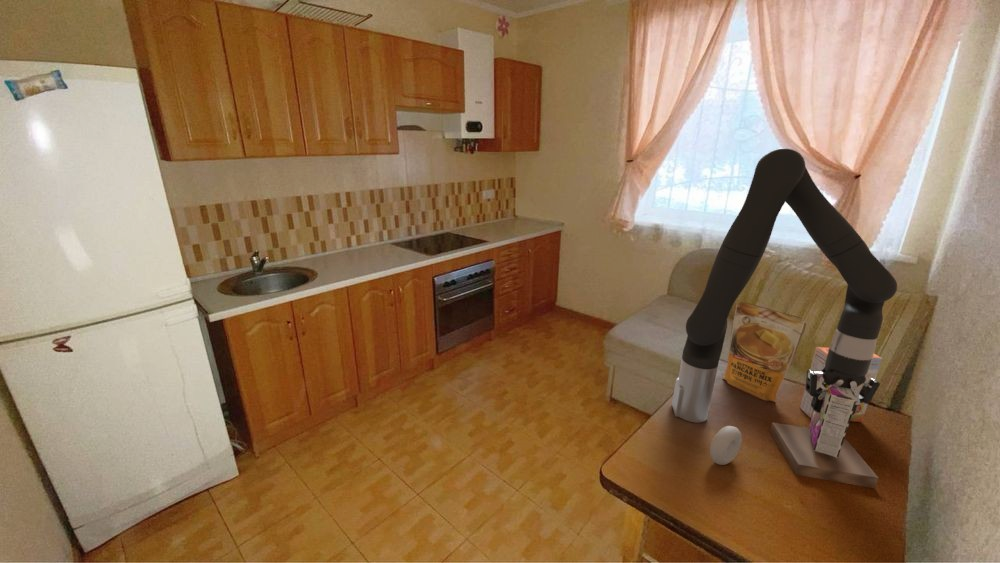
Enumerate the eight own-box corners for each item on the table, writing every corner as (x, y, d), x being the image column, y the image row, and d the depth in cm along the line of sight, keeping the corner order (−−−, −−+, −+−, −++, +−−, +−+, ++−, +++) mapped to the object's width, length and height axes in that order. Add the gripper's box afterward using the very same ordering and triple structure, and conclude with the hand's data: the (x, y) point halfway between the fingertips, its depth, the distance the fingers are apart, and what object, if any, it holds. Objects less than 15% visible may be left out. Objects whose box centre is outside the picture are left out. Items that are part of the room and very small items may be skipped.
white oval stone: (727, 450, 102) (734, 417, 99) (740, 458, 99) (748, 425, 96) (703, 464, 97) (710, 430, 94) (717, 474, 94) (724, 439, 91)
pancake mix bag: (725, 373, 139) (741, 298, 130) (786, 400, 123) (809, 317, 115) (715, 378, 135) (730, 302, 126) (776, 407, 120) (799, 322, 111)
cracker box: (846, 410, 119) (867, 348, 113) (862, 423, 113) (885, 358, 107) (797, 407, 120) (815, 345, 114) (810, 419, 114) (829, 355, 108)
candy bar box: (807, 425, 104) (823, 371, 99) (831, 432, 102) (849, 377, 97) (812, 451, 95) (830, 392, 90) (838, 459, 93) (858, 399, 88)
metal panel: (795, 474, 95) (798, 464, 94) (769, 431, 109) (772, 422, 108) (874, 488, 91) (878, 477, 90) (837, 441, 106) (840, 432, 105)
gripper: (823, 354, 89) (804, 417, 94) (899, 362, 86) (876, 427, 91) (807, 340, 96) (790, 399, 101) (877, 347, 93) (856, 408, 98)
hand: (831, 412), depth 96 cm, fingers closed on candy bar box, 6 cm apart
